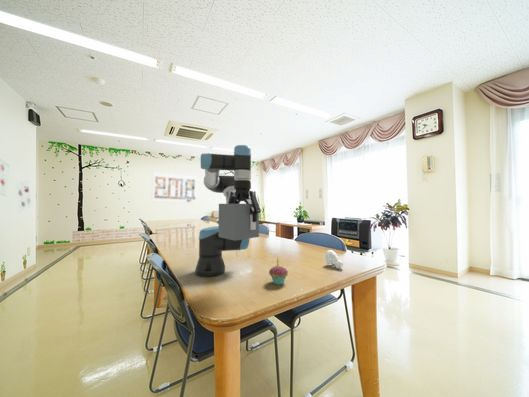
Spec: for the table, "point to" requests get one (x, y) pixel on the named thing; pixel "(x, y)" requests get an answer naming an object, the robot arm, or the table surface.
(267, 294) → the table surface
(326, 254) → the white figurine
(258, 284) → the table surface
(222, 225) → the grey chamfered box
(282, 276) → the cupcake
